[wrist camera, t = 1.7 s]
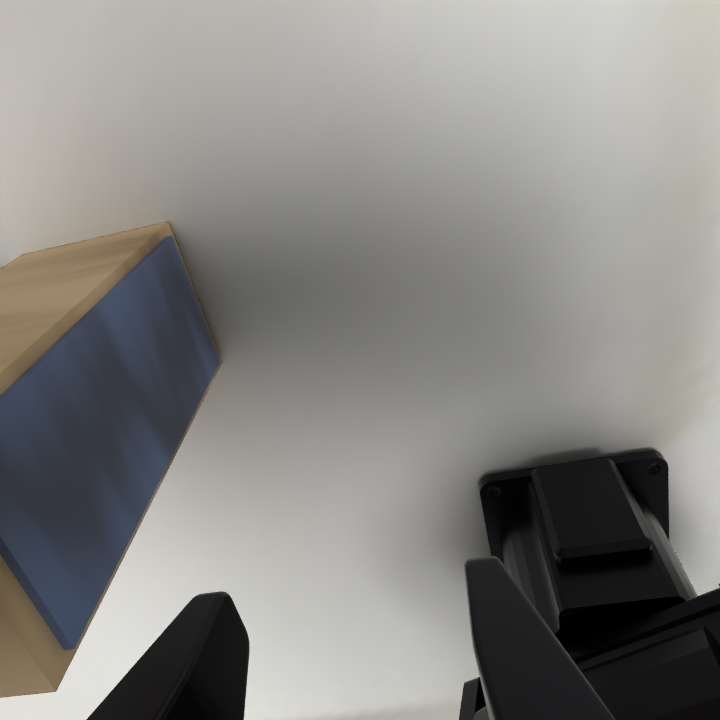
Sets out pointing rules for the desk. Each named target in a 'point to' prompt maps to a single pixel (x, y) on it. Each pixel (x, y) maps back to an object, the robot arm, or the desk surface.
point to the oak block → (86, 428)
